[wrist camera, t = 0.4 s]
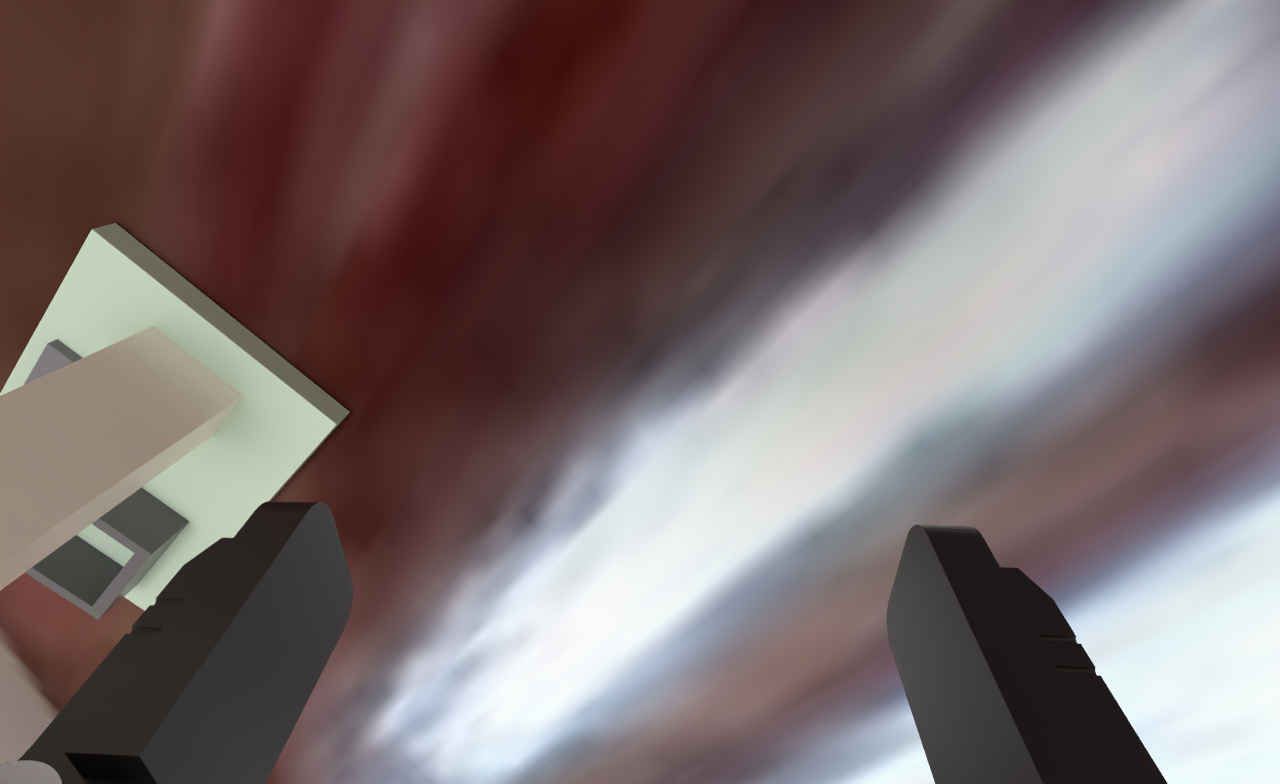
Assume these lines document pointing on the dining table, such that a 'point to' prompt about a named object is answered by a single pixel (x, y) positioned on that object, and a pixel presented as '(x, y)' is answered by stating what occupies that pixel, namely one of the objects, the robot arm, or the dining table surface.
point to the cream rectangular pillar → (97, 439)
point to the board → (212, 472)
